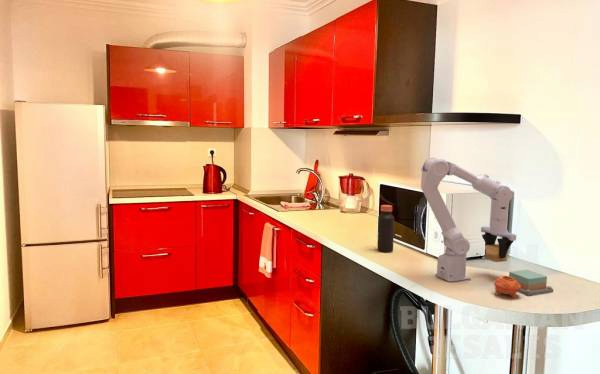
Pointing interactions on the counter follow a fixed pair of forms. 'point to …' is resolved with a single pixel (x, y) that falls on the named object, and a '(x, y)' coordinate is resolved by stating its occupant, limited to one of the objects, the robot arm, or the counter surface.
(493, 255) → the ochre brick
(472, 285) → the counter surface
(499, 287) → the orange rounded lump
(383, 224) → the black water bottle
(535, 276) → the teal block with base
